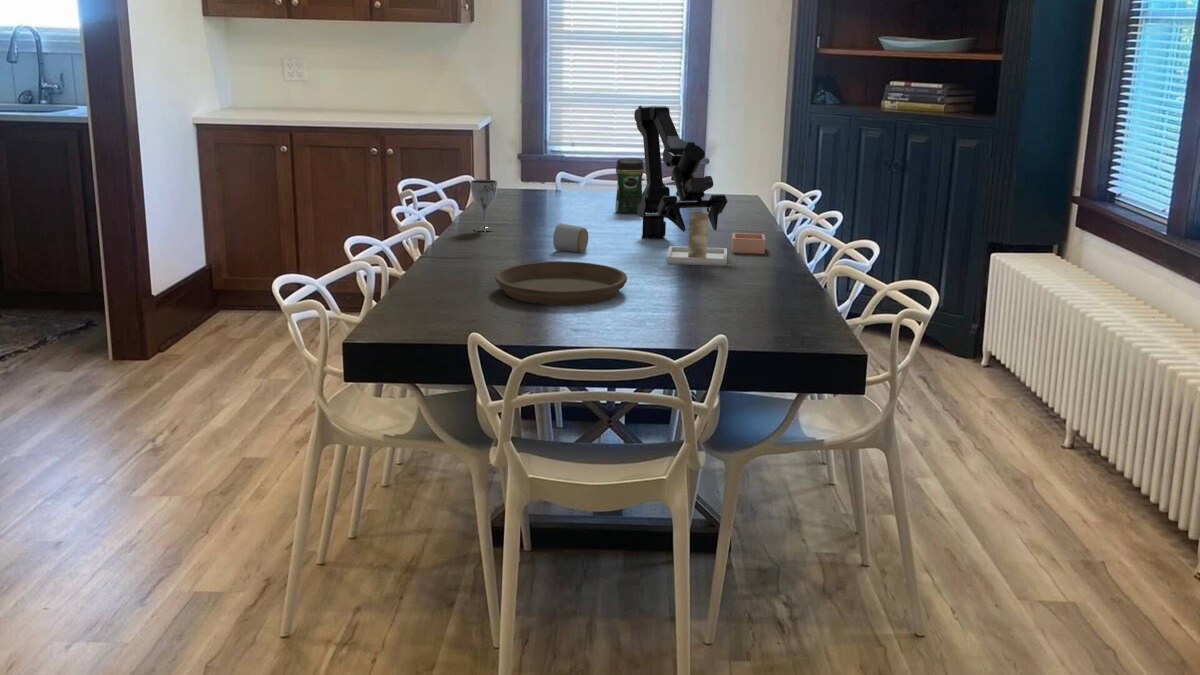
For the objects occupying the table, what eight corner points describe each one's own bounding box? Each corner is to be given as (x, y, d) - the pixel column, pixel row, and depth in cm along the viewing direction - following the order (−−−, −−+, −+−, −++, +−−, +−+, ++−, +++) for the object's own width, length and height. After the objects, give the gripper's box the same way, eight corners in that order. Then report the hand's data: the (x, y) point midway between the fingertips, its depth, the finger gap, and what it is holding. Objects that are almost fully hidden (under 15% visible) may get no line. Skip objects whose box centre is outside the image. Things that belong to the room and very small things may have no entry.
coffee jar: (641, 210, 383) (643, 156, 378) (644, 214, 375) (645, 159, 370) (613, 210, 382) (615, 156, 377) (615, 214, 374) (617, 159, 369)
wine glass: (466, 231, 338) (466, 181, 334) (479, 227, 345) (478, 179, 341) (489, 233, 335) (489, 183, 331) (501, 229, 342) (501, 180, 338)
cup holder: (731, 254, 309) (732, 238, 308) (731, 248, 318) (732, 233, 317) (764, 255, 308) (765, 239, 307) (763, 249, 317) (764, 234, 316)
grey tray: (666, 263, 295) (666, 257, 295) (669, 252, 310) (669, 246, 310) (726, 266, 294) (727, 259, 293) (726, 254, 309) (726, 248, 308)
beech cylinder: (684, 256, 302) (686, 213, 298) (694, 254, 305) (696, 211, 302) (699, 259, 299) (701, 215, 295) (709, 256, 302) (711, 213, 299)
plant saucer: (580, 315, 240) (580, 295, 239) (468, 296, 256) (467, 277, 255) (650, 289, 266) (651, 271, 265) (544, 273, 282) (544, 256, 280)
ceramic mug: (579, 255, 305) (580, 227, 303) (552, 252, 308) (552, 224, 306) (593, 249, 314) (594, 222, 312) (567, 246, 317) (567, 220, 315)
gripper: (662, 166, 296) (676, 213, 289) (726, 165, 302) (741, 211, 295) (651, 191, 306) (664, 238, 299) (713, 189, 311) (727, 235, 304)
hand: (700, 230), depth 299 cm, fingers open, 9 cm apart
